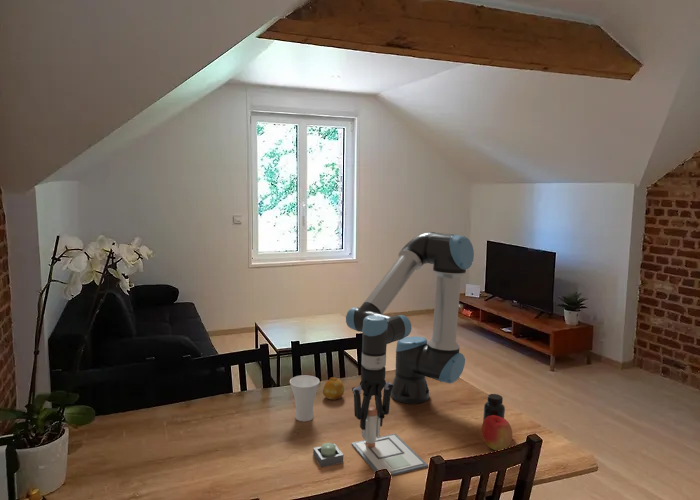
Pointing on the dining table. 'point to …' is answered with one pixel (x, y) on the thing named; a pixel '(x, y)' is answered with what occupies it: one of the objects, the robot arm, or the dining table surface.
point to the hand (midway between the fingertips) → (370, 437)
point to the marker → (372, 427)
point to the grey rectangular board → (390, 455)
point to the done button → (328, 449)
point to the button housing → (327, 460)
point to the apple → (496, 432)
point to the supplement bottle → (494, 406)
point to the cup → (304, 395)
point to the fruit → (333, 388)
